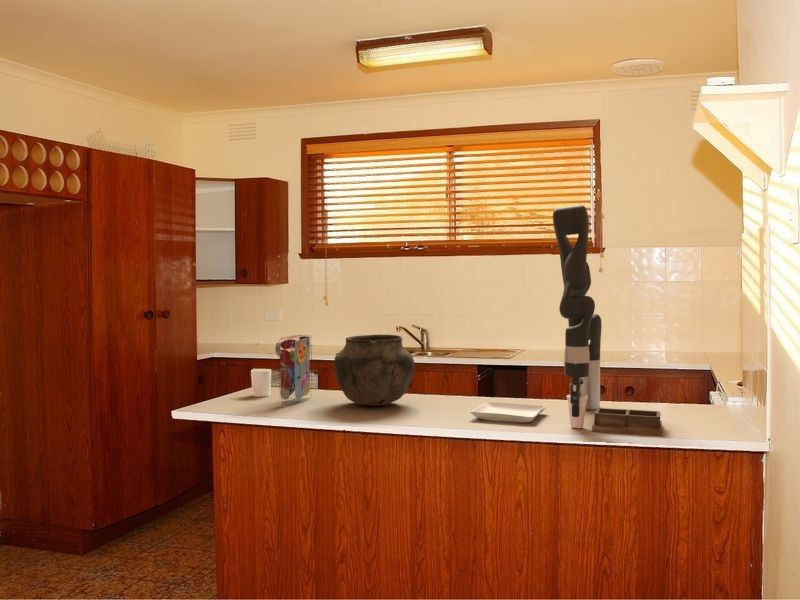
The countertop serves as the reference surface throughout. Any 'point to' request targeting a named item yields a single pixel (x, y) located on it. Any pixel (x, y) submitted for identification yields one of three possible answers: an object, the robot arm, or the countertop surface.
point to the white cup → (261, 382)
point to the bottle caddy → (627, 421)
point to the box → (299, 375)
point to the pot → (374, 369)
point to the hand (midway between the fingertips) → (576, 414)
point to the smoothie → (579, 421)
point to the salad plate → (507, 412)
